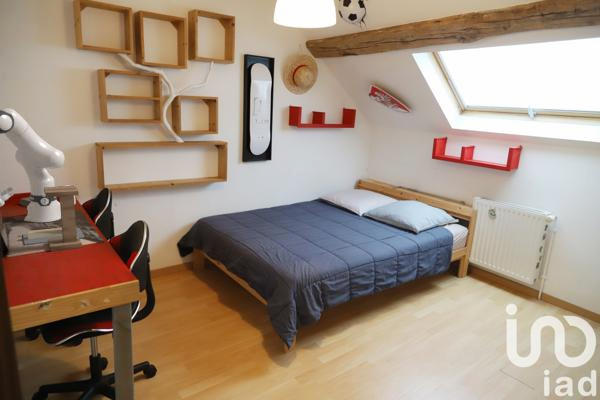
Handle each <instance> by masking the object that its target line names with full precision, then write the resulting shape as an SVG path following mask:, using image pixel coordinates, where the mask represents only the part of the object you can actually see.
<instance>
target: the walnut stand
mask: <svg viewBox="0 0 600 400" xmlns="http://www.w3.org/2000/svg"><path fill="white" fill-rule="evenodd" d="M44 193H45V195H46V198H48V197H57V198H59V203H60V210H61V219H60V221H61V222H60V223H61V228H62V237H60V238H52V239H48V247H49V249H50V252H56V251H57V252H58V251H65V250H72V249H80V248H82V247H83V243H82V241H81V238H80V239H79V237H78V235H76V227H77V224H76V209H75V205H76V204H75V205H74V196H75V197H76V196H79V195H80V194H79V190H78V189H77V187H76V186H75V185H70V186H66V185H64V186H63V185H62V186H55V187H44Z"/></svg>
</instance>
